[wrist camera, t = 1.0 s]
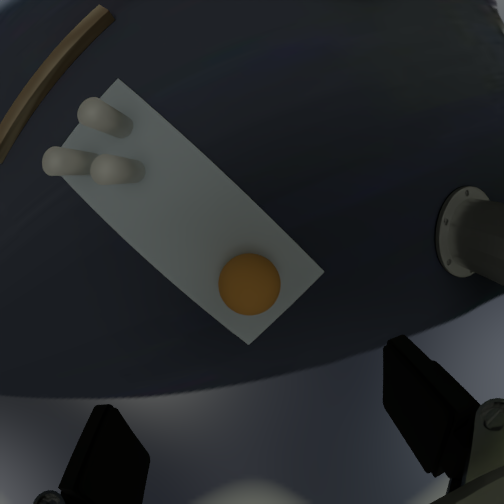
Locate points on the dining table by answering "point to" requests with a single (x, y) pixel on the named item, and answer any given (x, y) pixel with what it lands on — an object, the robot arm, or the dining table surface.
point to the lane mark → (187, 214)
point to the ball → (249, 284)
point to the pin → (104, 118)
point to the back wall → (50, 75)
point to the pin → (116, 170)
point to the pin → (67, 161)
